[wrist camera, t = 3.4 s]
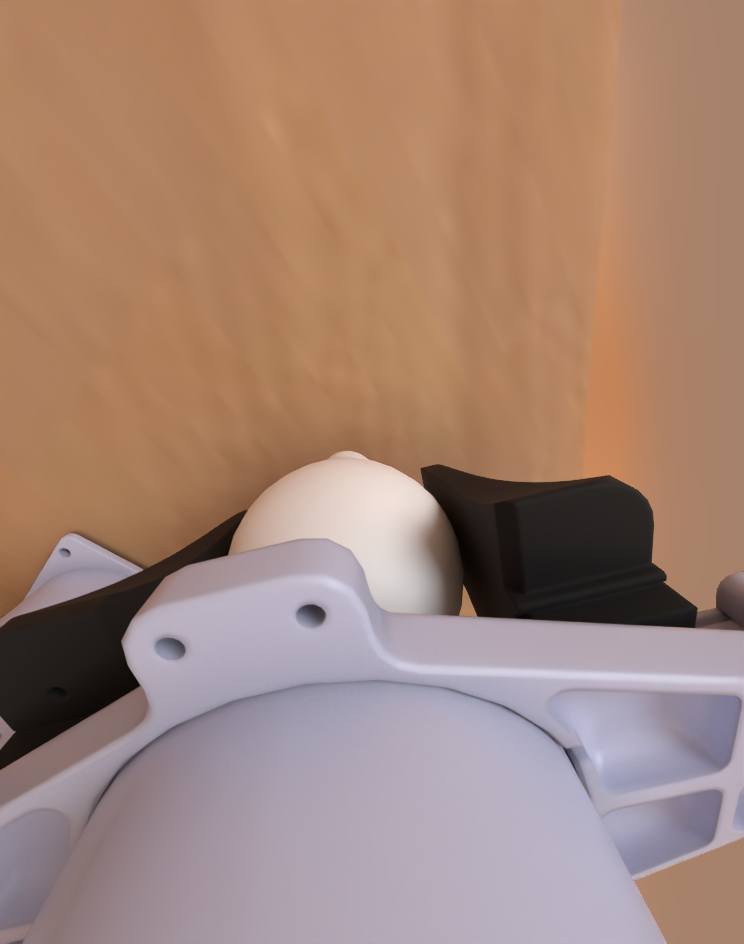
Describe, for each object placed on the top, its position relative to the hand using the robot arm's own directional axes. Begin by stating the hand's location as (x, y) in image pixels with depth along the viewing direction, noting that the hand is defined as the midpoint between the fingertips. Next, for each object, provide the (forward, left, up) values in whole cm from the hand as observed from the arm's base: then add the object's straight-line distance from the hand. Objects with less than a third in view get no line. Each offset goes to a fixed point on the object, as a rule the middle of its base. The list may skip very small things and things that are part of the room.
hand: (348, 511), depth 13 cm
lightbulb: (0, 0, -5) cm, 5 cm away
